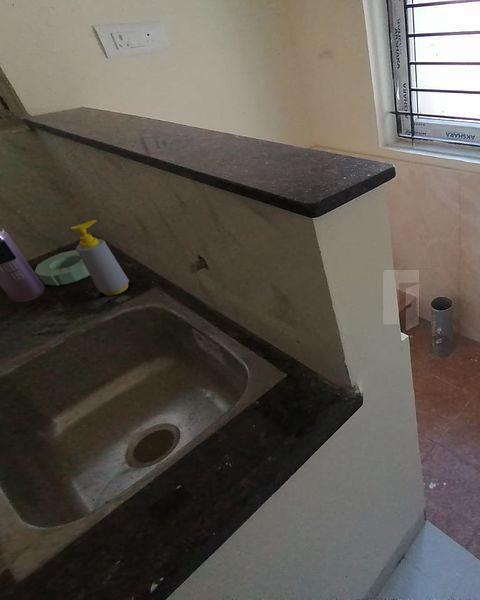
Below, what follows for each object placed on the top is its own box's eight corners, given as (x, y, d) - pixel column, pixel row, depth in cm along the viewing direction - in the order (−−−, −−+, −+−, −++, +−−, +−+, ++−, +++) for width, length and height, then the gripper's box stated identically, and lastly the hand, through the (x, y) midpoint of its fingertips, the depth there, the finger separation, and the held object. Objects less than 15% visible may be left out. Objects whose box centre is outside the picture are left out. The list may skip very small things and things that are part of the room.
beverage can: (43, 283, 88) (2, 223, 79) (48, 295, 85) (6, 233, 76) (10, 294, 85) (-37, 233, 76) (14, 306, 81) (-35, 244, 72)
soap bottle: (136, 286, 99) (102, 223, 88) (107, 300, 95) (67, 235, 84) (124, 278, 102) (89, 215, 91) (95, 291, 98) (55, 227, 87)
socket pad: (52, 291, 98) (45, 281, 97) (34, 274, 105) (27, 265, 103) (108, 268, 107) (103, 258, 105) (88, 254, 113) (83, 245, 111)
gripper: (-102, 164, 70) (-34, 251, 81) (-83, 185, 61) (-10, 278, 72) (-47, 154, 74) (10, 237, 85) (-22, 172, 66) (38, 261, 77)
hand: (0, 255), depth 79 cm, fingers closed on beverage can, 6 cm apart
